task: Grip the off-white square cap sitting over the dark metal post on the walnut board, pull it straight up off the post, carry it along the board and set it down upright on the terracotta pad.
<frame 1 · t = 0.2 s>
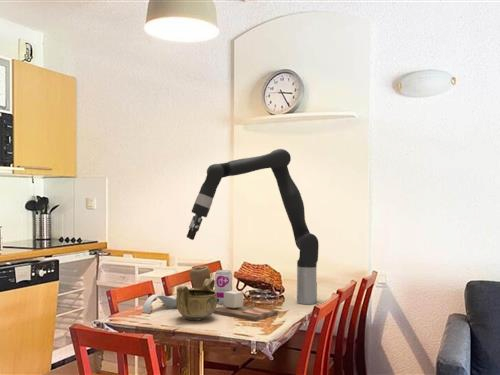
hand: (189, 238, 238), 31 cm above the table, tool tilted 20°, fingers open, 8 cm apart
ceramic bowl: (196, 319, 214), on the table
stone cup: (203, 296, 263), on the table
post board: (244, 313, 225), on the table
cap: (233, 305, 228), point 2 cm above the table, touching post board
grey sandal: (165, 309, 233), on the table
supplement can: (223, 303, 248), on the table
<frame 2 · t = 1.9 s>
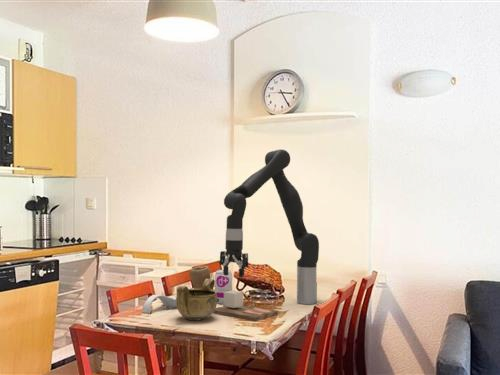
hand: (233, 276, 229), 15 cm above the table, tool pointing down, fingers open, 8 cm apart
nothing on the table moved.
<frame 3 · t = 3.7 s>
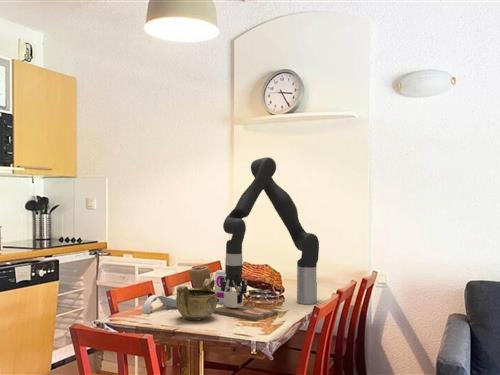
hand: (233, 302, 229), 4 cm above the table, tool pointing down, fingers closed on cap, 6 cm apart
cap: (233, 305, 228), point 3 cm above the table, touching gripper, post board
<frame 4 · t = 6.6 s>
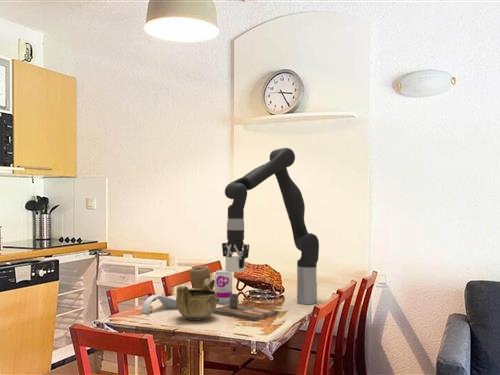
hand: (235, 267, 229), 19 cm above the table, tool pointing down, fingers closed on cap, 6 cm apart
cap: (235, 270, 228), point 18 cm above the table, touching gripper
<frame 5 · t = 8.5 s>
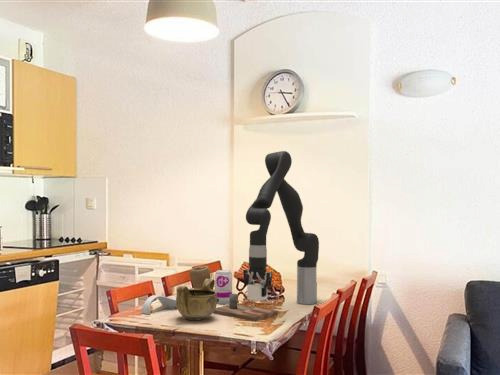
hand: (257, 295, 221), 9 cm above the table, tool pointing down, fingers closed on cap, 6 cm apart
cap: (257, 299, 221), point 7 cm above the table, touching gripper
when the fingers open (5 cm above the table, at t = 9.8 s): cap drops 1 cm, resting on post board.
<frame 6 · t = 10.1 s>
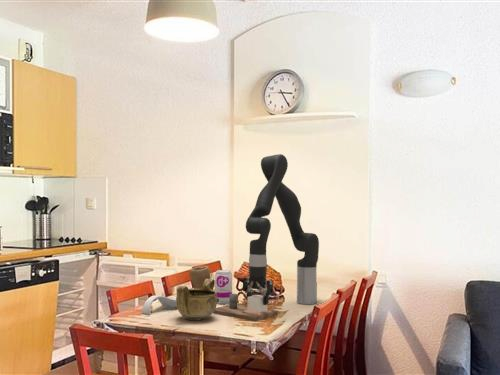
hand: (257, 303, 221), 5 cm above the table, tool pointing down, fingers open, 8 cm apart
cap: (257, 311, 220), point 2 cm above the table, touching post board
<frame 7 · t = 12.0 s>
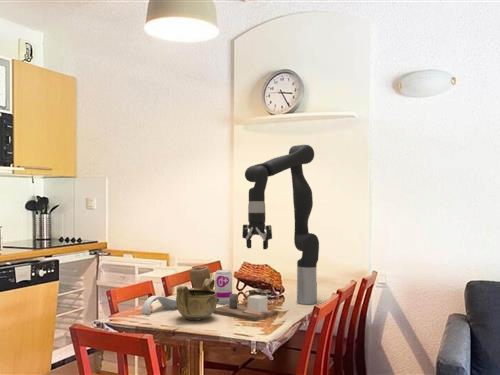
hand: (257, 248, 229), 27 cm above the table, tool pointing down, fingers open, 8 cm apart
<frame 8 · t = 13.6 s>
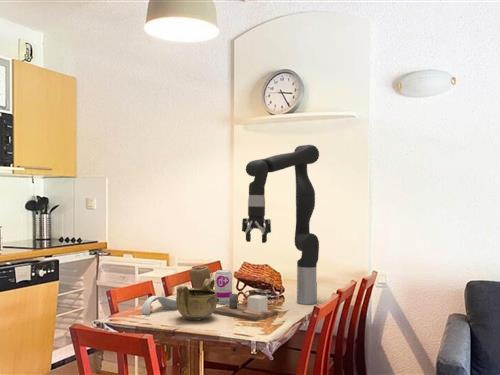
hand: (256, 242, 232), 30 cm above the table, tool pointing down, fingers open, 8 cm apart
at the end: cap inside the target area (0.1 cm from its centre), point 2.1 cm above the table; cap tilted 0°; the gripper is holding nothing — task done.
